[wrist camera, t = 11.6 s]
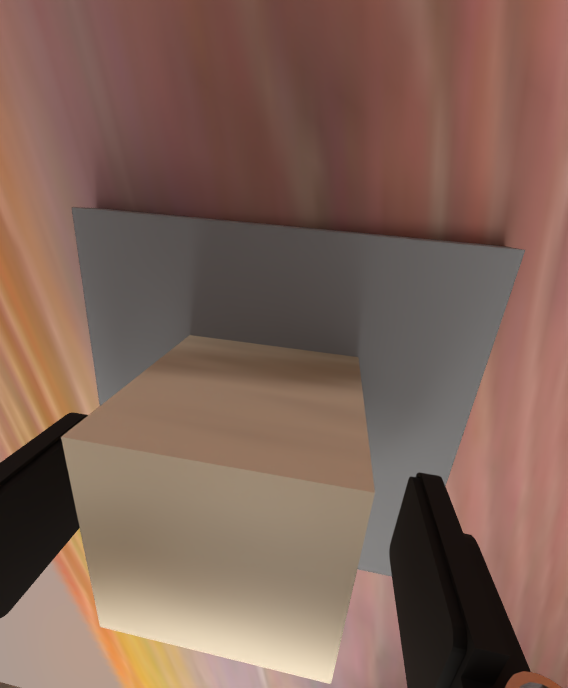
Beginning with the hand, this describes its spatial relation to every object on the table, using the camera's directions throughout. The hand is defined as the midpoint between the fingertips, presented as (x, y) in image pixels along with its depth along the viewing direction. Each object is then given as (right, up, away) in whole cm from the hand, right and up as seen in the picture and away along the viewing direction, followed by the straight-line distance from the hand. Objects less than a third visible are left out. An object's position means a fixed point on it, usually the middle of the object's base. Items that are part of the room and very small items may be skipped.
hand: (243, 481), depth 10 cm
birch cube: (+1, +1, +3) cm, 3 cm away
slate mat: (+1, +2, +4) cm, 4 cm away
